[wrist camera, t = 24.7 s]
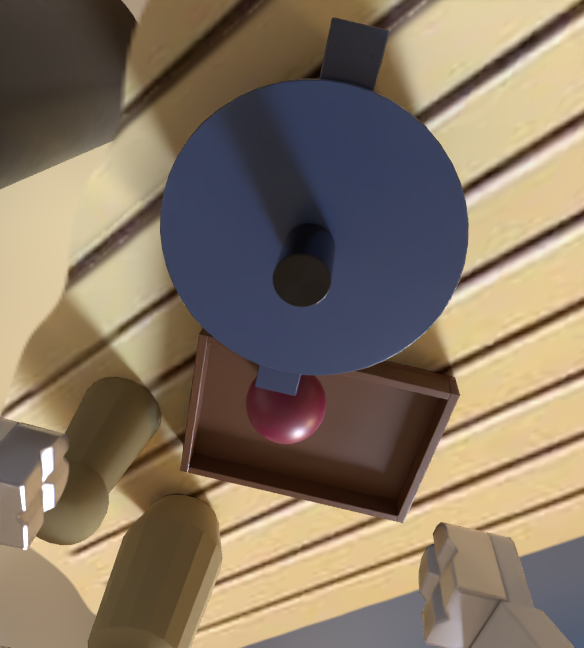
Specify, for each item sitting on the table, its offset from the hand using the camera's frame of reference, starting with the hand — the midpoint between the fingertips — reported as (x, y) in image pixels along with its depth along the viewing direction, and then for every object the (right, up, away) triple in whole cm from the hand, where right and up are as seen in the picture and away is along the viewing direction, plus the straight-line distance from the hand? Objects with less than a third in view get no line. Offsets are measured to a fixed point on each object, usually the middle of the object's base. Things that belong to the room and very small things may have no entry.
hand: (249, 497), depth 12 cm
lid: (+2, +8, +14) cm, 16 cm away
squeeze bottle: (-8, -13, +34) cm, 38 cm away
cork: (-12, -3, +30) cm, 32 cm away
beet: (+1, -3, +25) cm, 25 cm away
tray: (+2, -3, +28) cm, 28 cm away
